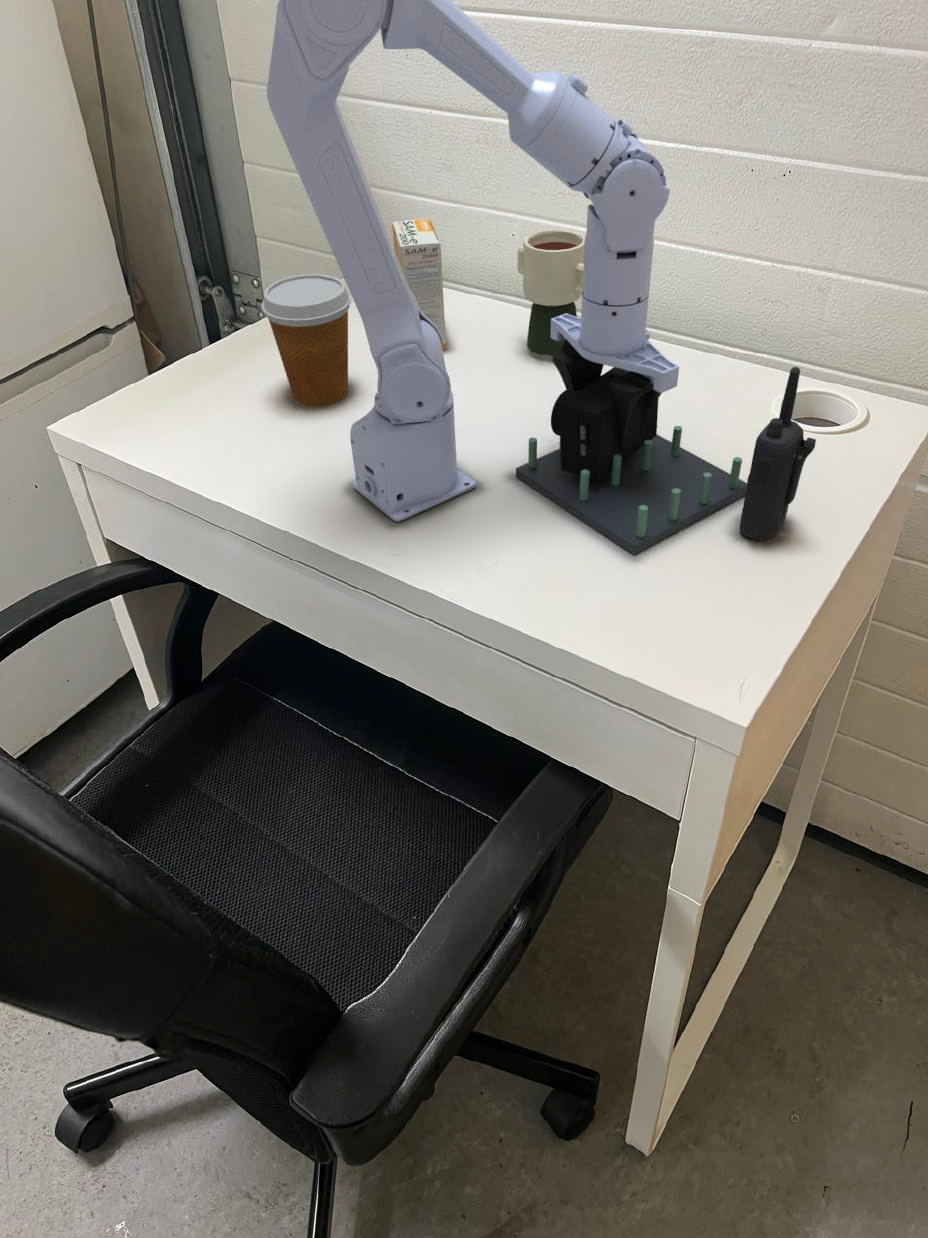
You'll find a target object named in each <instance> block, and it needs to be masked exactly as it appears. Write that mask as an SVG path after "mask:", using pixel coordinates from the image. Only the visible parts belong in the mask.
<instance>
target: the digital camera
mask: <svg viewBox="0 0 928 1238" xmlns="http://www.w3.org/2000/svg"><path fill="white" fill-rule="evenodd" d="M625 377H626V378H627V377H628V372H627V371H625V370H623V369H620V368H615V367H612V368H611V369H608V370H607V371H606V372H604V373H603V374H601V376H600V377H598V378H597V379H595V380H594V381H592V382H591V383H589V384H588V385H586V386H585V387H583V388H582V389H580V390H579V391H575V390H571V389H568V390H566V389H565V390H563V391H562V392H561V393H560V394H559V395H558V396H557V398H556V400H555V402H554V405H553V407H552V410H551V414H550V427H551V430H552V433H553V434H554V435H556V436H558V437H559V449H560V450H561V469H562V470H564V471H567V472H570V473H573V474H576V475H579V476H581V471H582V470H588V471H589V472H590V474H589V479H591V480H594V481H599V480H600V479H601V478H603V477H604V476H605V475H607V474H608V473H609V472H610V471H612V463H613V456H614V455H616V454H618V455H621V457H622V459H621V463H622V462H623V461H625V460H626V459H627V458H629V457H630V456H631V455H632V454H634V453H635V452H636V451H638V450H639V449H640V448H641V447H643V446H644V441H645V440H652V439H653V438H654V437H656V436H657V435H658V434H657V433H658V417H659V416H658V414H659V398H658V399H657V401H656V402H655V404H654V406H653V407H652V409H651V411H650V413H649V415H648V417H647V419H646V422H645V424H644V426H643V429H642V432H641V434H640V437H639V440H638V443H636V444H634V445H632V446H629V447H627V448H625V449H621V448H619V445H618V439H617V415H616V407H615V402H614V398H613V395H612V392H611V390H610V384H611V383H613V382H616V381H618V380H620V379H623V378H625Z"/></svg>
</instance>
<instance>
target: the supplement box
mask: <svg viewBox="0 0 928 1238" xmlns="http://www.w3.org/2000/svg"><path fill="white" fill-rule="evenodd" d="M391 226H392V227H391V229H392V238H393V248H394V251H395V253H396V256H397V258H398V261H399V264H400V266H401V269H402V271H403V274H404V276H405V279H406V282H407V284H408V287H409V288H410V290H411V291H412V293H413V294H414V296H415V298H416V301H417V303H418V306H419V308H420V310H421V311H422V313H423V314H424V315H425V316H426V317H427V318H428V319H430V320H431V321H432V322H433V323H434V324H435V325H436V326H437V328H438V330H439V331H440V334H441V336H442V341H443V350H446V349H447V335H446V321H445V319H446V318H445V301H444V299H445V298H444V282H443V265H442V249H441V248H442V247H441V241H440V239H439V237H438V234H437V231H436V230H435V228H434V225H433V223H432V221H431V219H430V218H417V219H406V220H398V221H392V222H391Z"/></svg>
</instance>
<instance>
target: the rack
mask: <svg viewBox="0 0 928 1238" xmlns="http://www.w3.org/2000/svg"><path fill="white" fill-rule="evenodd" d="M682 434H683V427H682V426H681V425H674V427H673V430H672V439H671V441H670V440H668V439H667V438H664V437H662V436H661V435H659V434H657V436H656V437H654V438H653V439H652V440H645V441H644V446H643V447H641V448H640V449H639V450H638V451H636V452H635V453H634V454H632V455H631V456H630V457H629V458H627V459H626V460H625V461H623V462H622V463H621V459H622V457H621V455H618V454H616V455H614V456H613V463H612V471H610V472H609V473H608V474H607V475H605V476H604V477H603V478H601V479H600V480H599V481H594V480H591V479H589V474H590V472H589V471H588V470H582V471H581V476H579V475H576V474H573V473H570V472H567V471H564V470H562V469H561V450H560V448H558V449H555V450H553V451H551V452H549V453H547V454H544V455H542V456H540V457H538V439H537V438H536V437H530V438H528V462H527V463H525V464H522V465H520V466H518V467H516V468H515V477H516V478H517V479H518V480H520V481H522V482H523V483H524V484H525V485H528V486H529V487H531V488H532V489H534V490H535V491H536V492H538V493H540V494H541V495H542V496H544V497H546V498H547V499H549V500H550V501H552V502H553V503H555V504H556V505H557V506H559V507H561V508H562V509H564V510H565V511H566V512H568V513H569V514H571V515H573V516H574V517H576V518H577V519H579V520H580V521H582V522H583V523H585V524H586V525H588V526H589V527H591V528H592V529H594V530H595V531H597V532H598V533H600V534H601V535H603V536H604V537H605V538H607V539H609V540H610V541H611V542H613V543H615V544H616V545H618V546H619V547H621V548H622V549H623V550H624V551H626V552H629V553H630V554H631V555H632V556H634V555H637V554H639V553H640V552H642V551H644V550H646V549H648V548H650V547H652V546H654V545H655V544H657V543H659V542H661V541H663V540H665V539H666V538H668V537H670V536H671V535H673V534H675V533H676V534H677V532H679V531H682V530H683V529H685V528H688V526H690V525H692V524H694V523H696V522H698V521H700V520H701V519H704V518H705V517H707V516H709V515H711V514H712V513H715V512H716V511H718V510H720V509H722V508H724V507H725V506H727V505H730V504H731V503H733V502H735V501H737V500H739V499H740V498H743V497H744V494H745V491H746V490H747V486H748V485H747V481H744V480H742V479H740V476H741V475H740V474H741V469H742V463H743V458H742V457H740V456H735V457H734V458H733V459H732V463H731V464H732V465H731V470H730V473H729V472H727V471H725V470H723V469H722V468H720V467H718V466H716V465H714V464H712V463H711V462H709V461H707V460H705V459H703V458H702V457H699V456H698V455H696V454H694V453H692V452H691V451H688V450H686V448H683V447H682V446H681V443H682V442H681V441H682Z"/></svg>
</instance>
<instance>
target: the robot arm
mask: <svg viewBox="0 0 928 1238" xmlns="http://www.w3.org/2000/svg"><path fill="white" fill-rule="evenodd" d="M275 14H276V15H275V23H274V24H275V25H274V32H273V40H272V47H271V54H270V62H269V71H268V78H267V85H266V98H267V102H268V106H269V109H270V111H271V114H272V116H273V119H274V120H275V123H276V125H277V127H278V130H279V132H280V135H281V137H282V139H283V141H284V144H285V146H286V148H287V151H288V153H289V155H290V157H291V160H292V162H293V164H294V167H295V169H296V171H297V174H298V176H299V178H300V180H301V183H302V185H303V188H304V190H305V192H306V194H307V197H308V200H309V202H310V204H311V206H312V208H313V210H314V212H315V213H314V214H315V215H316V217H317V220H318V222H319V224H320V227H321V229H322V231H323V233H324V235H325V238H326V240H327V243H328V245H329V248H330V249H331V252H332V254H333V256H334V259H335V261H336V263H337V265H338V268H339V270H340V273H341V275H342V277H343V279H344V281H345V282H344V283H345V285H346V286H347V288H348V289H347V290H348V292H349V293H350V295H351V299H352V300H353V302H354V305H355V306H356V307H355V308H356V309H357V311H358V314H359V316H360V318H361V321H362V325H363V327H364V331H365V335H366V340H367V343H368V347H369V350H370V354H371V357H372V359H373V361H374V364H375V367H376V369H377V387H376V388H377V392H376V393H375V395H374V405H373V407H372V408H371V409H370V410H369V412H368V413H366V414H365V415H364V416H363V417H361V418H360V419H358V420H356V421H355V422H354V423H352V425H351V427H350V433H349V434H350V435H349V438H350V446H351V454H352V461H353V468H354V475H355V481H354V482H353V483H352V486H353V488H354V489H355V490H356V491H357V492H359V494H361V495H362V496H363V497H365V498H366V499H367V500H368V501H370V503H372V504H373V505H374V506H376V507H377V508H378V509H379V510H380V511H382V512H383V513H384V514H385V515H386V516H388V517H389V518H390V519H391V520H392V521H394V522H401V521H403V520H406V519H408V518H410V517H413V516H414V515H417V514H419V513H421V512H424V511H425V510H428V509H430V508H433V507H435V506H437V505H439V504H441V503H444V502H446V501H448V500H450V499H453V498H454V497H458V496H460V495H461V494H463V493H466V492H468V491H470V490H473V489H474V488H476V486H477V482H476V480H474V479H473V478H472V477H470V476H469V475H467V474H466V473H465V472H463V471H462V470H461V469H459V468H458V462H457V445H456V444H457V443H456V423H455V404H454V403H455V401H454V393H453V391H452V384H451V379H450V376H449V374H448V371H447V368H446V367H447V366H446V362H445V357H444V356H445V355H444V349H443V341H442V336H441V334H440V331H439V330H438V328H437V326H436V325H435V324H434V323H433V322H432V321H431V320H430V319H428V318H427V317H426V316H425V315H424V314H423V313H422V311H421V310H420V308H419V306H418V303H417V301H416V298H415V296H414V294H413V293H412V291H411V290H410V288H409V287H408V284H407V282H406V279H405V276H404V274H403V271H402V269H401V266H400V264H399V261H398V258H397V256H396V253H395V250H394V245H393V243H392V240H391V237H390V236H389V233H388V231H387V228H386V225H385V223H384V219H383V217H382V215H381V212H380V210H379V207H378V205H377V202H376V200H375V197H374V194H373V192H372V190H371V187H370V184H369V182H368V179H367V176H366V173H365V171H364V169H363V166H362V164H361V161H360V159H359V156H358V153H357V150H356V147H355V145H354V143H353V141H352V138H351V136H350V132H349V130H348V128H347V125H346V122H345V120H344V117H343V114H342V112H341V110H340V107H339V104H338V101H337V99H338V97H339V94H340V91H341V90H342V87H343V85H344V82H345V80H346V77H347V75H348V73H349V70H350V66H351V64H353V62H354V61H356V58H358V57H359V55H361V54H362V52H364V50H365V49H366V48H367V46H369V44H370V43H371V42H372V40H373V39H374V38H375V36H376V35H378V33H379V31H380V35H381V41H382V46H383V50H384V49H385V50H416V49H419V50H423V51H424V52H426V53H427V54H428V55H430V56H431V57H433V58H434V59H435V60H437V61H438V62H439V63H440V64H442V65H443V66H444V67H446V68H447V69H448V70H450V71H451V72H452V73H453V74H455V76H458V77H459V78H460V79H461V80H463V81H464V82H465V83H467V84H468V85H469V86H471V87H472V89H474V90H475V91H477V92H479V94H481V95H483V96H484V98H486V99H488V100H489V101H490V102H492V103H493V104H494V105H495V106H497V107H498V108H499V109H500V110H502V111H503V112H505V113H506V114H507V119H508V120H507V121H508V133H509V138H510V141H511V142H512V143H513V144H515V145H516V146H517V147H518V148H519V149H521V151H523V152H525V153H526V155H528V156H529V157H531V158H532V159H533V160H534V161H535V162H537V163H538V164H539V165H541V166H542V167H543V168H544V169H546V170H547V171H548V172H549V173H550V174H552V175H553V176H554V177H555V178H557V179H558V180H559V181H561V182H562V184H564V185H566V187H568V188H569V189H571V190H572V191H574V192H579V193H582V194H583V195H584V197H585V198H586V199H588V200H590V202H591V203H592V204H589V205H587V213H586V214H587V215H586V233H585V244H584V268H583V290H582V296H581V310H580V312H581V313H580V317H578V316H577V317H575V316H572V315H569V314H567V313H566V314H563V315H560V316H558V317H555V318H552V319H551V338H552V339H554V340H556V341H561V340H562V339H563V340H564V346H563V347H562V350H559V351H557V352H555V353H554V354H553V355H552V357H551V361H552V363H553V364H554V366H555V368H556V370H557V371H558V373H559V375H560V378H561V380H562V382H563V385H564V387H565V390H568V389H571V390H575V391H579V390H580V389H582V388H583V387H585V386H586V385H588V384H589V383H591V382H592V381H594V380H595V379H597V378H598V377H600V376H602V372H603V369H604V366H607V367H612V368H614V367H615V368H620V369H623V370H625V371H627V372H628V377H627V378H626V377H625V378H623V379H620V380H618V381H616V382H613V383H611V384H610V390H611V392H612V395H613V398H614V402H615V407H616V415H617V439H618V445H619V448H621V449H625V448H627V447H629V446H632V445H634V444H636V443H638V440H639V437H640V434H641V432H642V429H643V426H644V424H645V422H646V419H647V417H648V415H649V413H650V411H651V409H652V407H653V406H654V404H655V402H656V401H657V399H658V400H659V398H660V397H661V395H662V394H663V393H665V392H667V391H670V390H673V389H674V388H676V387H678V381H679V372H680V365H678V364H676V363H674V362H672V361H671V360H669V358H667V357H666V356H665V355H664V354H663V353H661V352H660V350H658V349H657V348H656V347H655V346H654V345H653V344H652V343H651V342H650V337H651V332H650V331H649V330H648V329H647V319H648V309H649V308H648V307H649V299H650V298H649V296H650V289H651V288H650V287H651V278H652V277H651V275H652V266H653V254H654V245H655V239H654V234H655V224H656V220H657V218H659V216H660V215H661V214H662V212H663V211H664V209H665V208H666V206H667V202H668V200H669V196H670V191H671V190H670V188H669V187H667V177H666V175H665V169H664V167H663V165H662V164H661V162H660V161H659V160H658V158H656V157H655V155H654V154H653V153H652V152H651V151H650V150H649V148H647V147H646V145H645V144H644V143H643V142H642V141H641V140H640V139H638V135H637V134H636V133H635V132H633V131H634V128H633V126H631V124H629V123H628V122H627V121H626V120H625V119H624V118H622V117H621V118H620V119H619V120H618V121H616V120H615V119H614V118H613V117H612V116H611V115H609V114H608V113H607V112H606V111H604V109H602V108H601V106H599V105H598V104H596V102H594V101H593V100H592V99H591V98H590V97H589V96H587V94H586V93H587V91H588V90H589V86H588V85H587V83H586V82H585V81H584V80H583V79H582V78H580V77H579V76H578V75H577V74H576V73H574V72H573V73H571V74H570V75H569V77H566V76H565V75H564V74H563V73H561V72H560V71H559V70H548V71H544V72H536V73H534V72H530V71H529V70H527V69H526V68H525V66H523V65H522V64H521V63H520V62H519V61H518V60H517V59H515V57H514V56H513V55H511V54H510V53H509V52H508V51H507V50H506V49H505V48H504V47H502V46H501V44H500V43H498V42H497V41H496V40H495V39H494V38H493V37H492V36H490V34H488V32H486V31H485V30H484V29H483V28H482V27H481V26H480V25H478V24H477V23H476V21H474V20H473V19H472V18H471V17H470V16H469V15H468V14H466V13H465V12H464V10H462V9H461V8H460V7H459V6H458V5H457V4H456V3H455V2H453V0H277V5H276V13H275Z"/></svg>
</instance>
